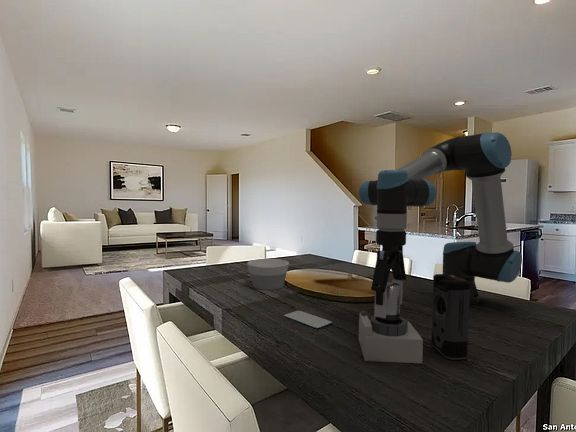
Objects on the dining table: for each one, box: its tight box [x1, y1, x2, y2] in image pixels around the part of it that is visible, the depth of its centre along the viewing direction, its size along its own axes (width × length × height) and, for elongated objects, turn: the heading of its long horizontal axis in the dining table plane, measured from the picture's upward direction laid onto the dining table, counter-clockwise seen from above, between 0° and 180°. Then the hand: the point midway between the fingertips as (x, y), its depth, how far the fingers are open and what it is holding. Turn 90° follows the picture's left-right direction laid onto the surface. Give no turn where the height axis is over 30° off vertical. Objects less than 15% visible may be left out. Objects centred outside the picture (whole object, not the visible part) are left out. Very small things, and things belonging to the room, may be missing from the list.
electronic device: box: [430, 273, 470, 361], centre depth 88 cm, size 9×6×20 cm, turn 5°
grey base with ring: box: [358, 310, 424, 364], centre depth 89 cm, size 14×12×9 cm
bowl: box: [246, 258, 290, 291], centre depth 152 cm, size 19×19×11 cm
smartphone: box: [283, 310, 333, 331], centre depth 111 cm, size 8×1×16 cm
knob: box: [379, 281, 401, 325], centre depth 88 cm, size 5×5×12 cm
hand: (389, 309), depth 88 cm, fingers open, 13 cm apart
